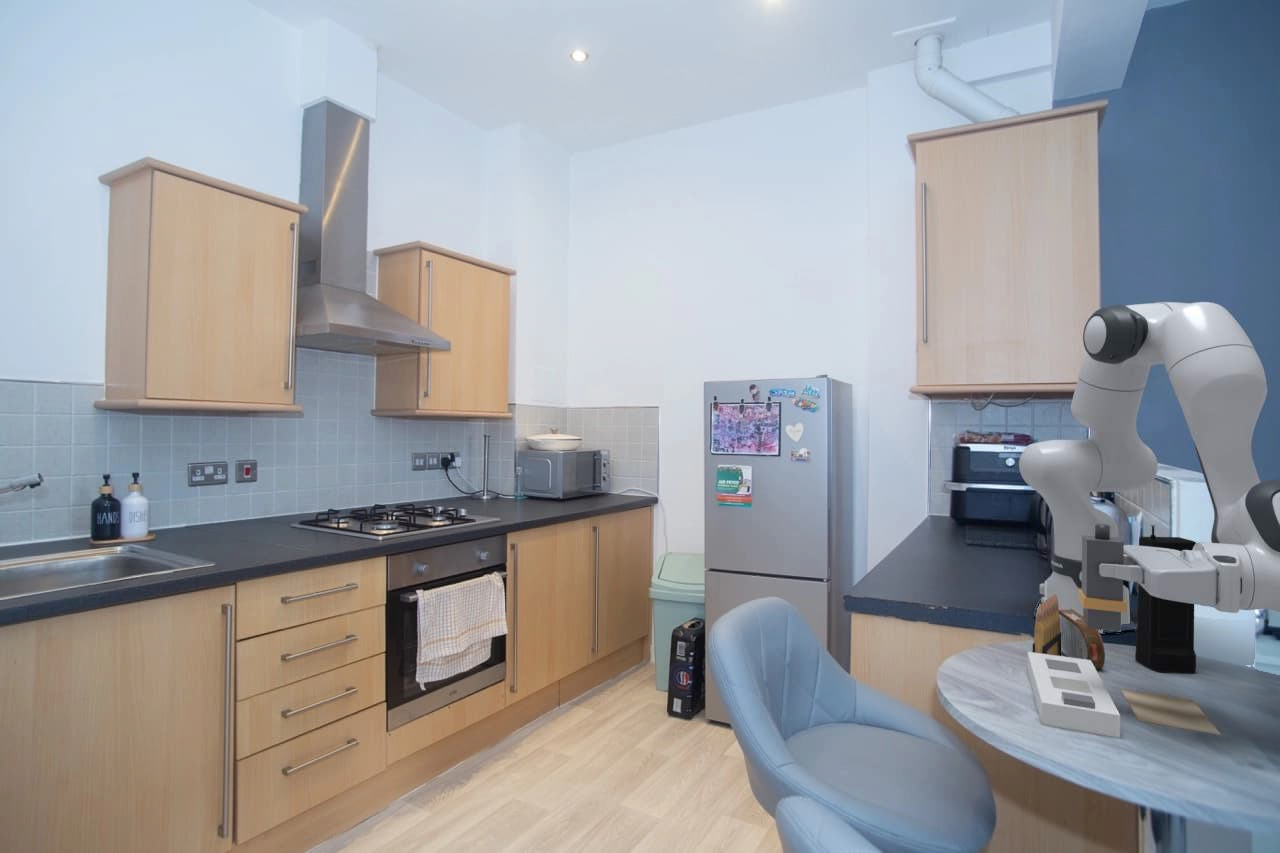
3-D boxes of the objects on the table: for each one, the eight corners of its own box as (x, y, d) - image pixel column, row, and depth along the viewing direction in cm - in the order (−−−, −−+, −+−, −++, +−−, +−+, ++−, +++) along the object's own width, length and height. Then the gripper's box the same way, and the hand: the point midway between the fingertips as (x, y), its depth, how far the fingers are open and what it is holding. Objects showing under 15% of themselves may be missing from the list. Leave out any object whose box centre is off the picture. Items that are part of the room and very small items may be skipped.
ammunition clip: (1044, 676, 111) (1044, 606, 111) (1031, 673, 113) (1032, 603, 113) (1061, 660, 119) (1062, 594, 119) (1049, 657, 120) (1050, 592, 120)
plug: (1077, 618, 101) (1078, 521, 101) (1119, 623, 99) (1120, 523, 99) (1083, 628, 96) (1084, 526, 96) (1126, 633, 94) (1127, 529, 94)
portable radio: (1178, 661, 118) (1180, 522, 118) (1204, 674, 112) (1206, 528, 112) (1132, 659, 119) (1134, 521, 119) (1154, 672, 113) (1156, 527, 113)
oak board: (1120, 695, 104) (1120, 689, 104) (1192, 706, 100) (1192, 699, 100) (1139, 727, 93) (1139, 720, 93) (1221, 741, 89) (1221, 734, 89)
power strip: (1027, 674, 112) (1027, 646, 112) (1090, 684, 108) (1090, 655, 108) (1041, 730, 92) (1042, 696, 92) (1119, 744, 88) (1120, 709, 88)
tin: (1106, 678, 110) (1107, 629, 110) (1085, 677, 111) (1086, 627, 111) (1067, 647, 125) (1068, 603, 125) (1049, 646, 126) (1049, 603, 126)
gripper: (1191, 539, 101) (1084, 532, 107) (1241, 567, 83) (1108, 556, 89) (1191, 580, 101) (1083, 571, 107) (1241, 617, 83) (1107, 603, 89)
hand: (1095, 564), depth 98 cm, fingers closed on plug, 4 cm apart
